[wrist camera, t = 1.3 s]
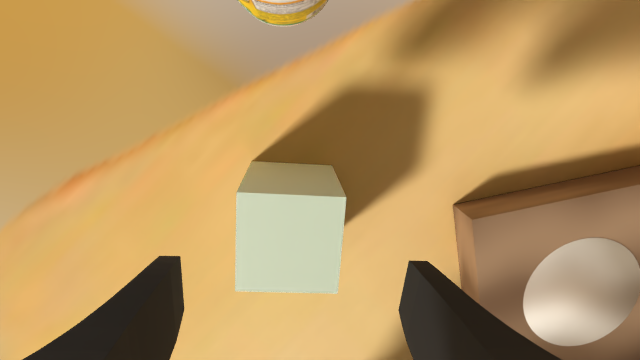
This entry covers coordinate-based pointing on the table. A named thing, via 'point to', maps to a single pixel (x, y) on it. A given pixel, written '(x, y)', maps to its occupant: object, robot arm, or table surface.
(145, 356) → the robot arm
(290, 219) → the block
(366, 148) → the table surface
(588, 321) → the plinth
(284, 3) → the supplement bottle
